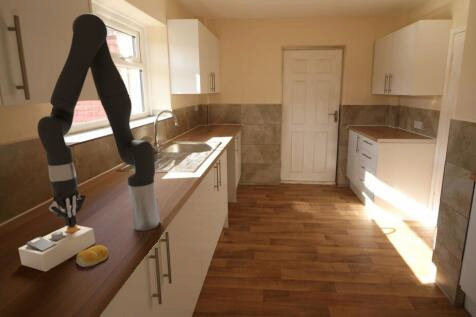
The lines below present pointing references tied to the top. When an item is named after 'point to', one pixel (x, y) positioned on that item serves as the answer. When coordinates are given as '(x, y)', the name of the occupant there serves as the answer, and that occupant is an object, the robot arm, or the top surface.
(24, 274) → the top surface
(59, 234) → the grey button
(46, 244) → the rocker
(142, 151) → the robot arm
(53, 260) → the console
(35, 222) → the top surface
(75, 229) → the orange button
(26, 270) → the top surface
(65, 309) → the top surface
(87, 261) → the bread roll
